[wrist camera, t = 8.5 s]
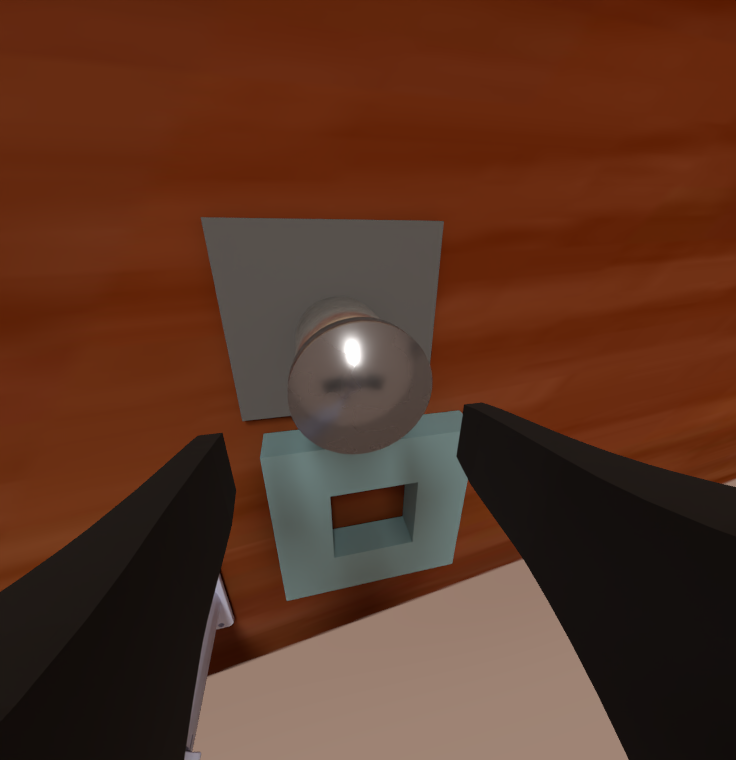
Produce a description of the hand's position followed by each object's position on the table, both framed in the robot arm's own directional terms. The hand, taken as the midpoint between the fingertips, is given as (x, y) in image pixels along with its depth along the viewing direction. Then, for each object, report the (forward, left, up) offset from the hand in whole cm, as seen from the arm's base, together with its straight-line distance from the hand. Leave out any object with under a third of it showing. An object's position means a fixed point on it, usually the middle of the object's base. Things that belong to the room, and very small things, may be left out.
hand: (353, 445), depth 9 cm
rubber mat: (+1, +1, -10) cm, 10 cm away
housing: (+3, -13, -10) cm, 17 cm away
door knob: (+1, 0, -10) cm, 10 cm away
